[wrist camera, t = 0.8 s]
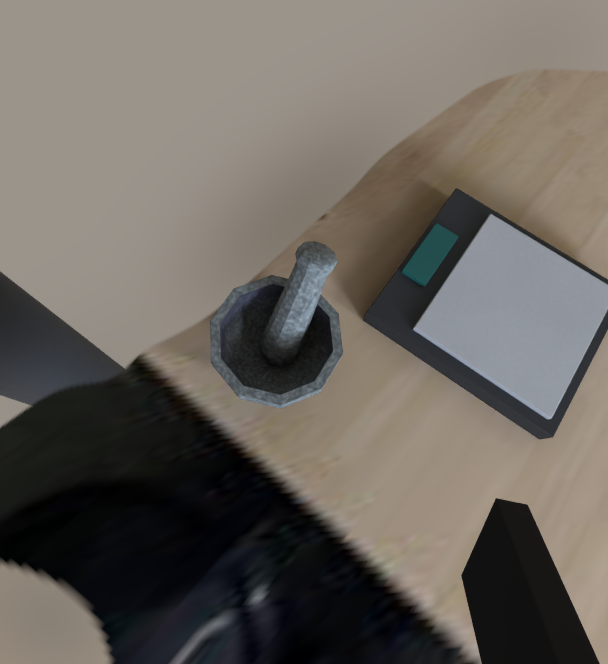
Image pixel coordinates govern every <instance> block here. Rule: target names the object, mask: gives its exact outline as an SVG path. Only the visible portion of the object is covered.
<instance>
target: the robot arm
mask: <svg viewBox="0 0 608 664" xmlns="http://www.w3.org/2000/svg"><path fill="white" fill-rule="evenodd" d="M461 576H462V580H463V584H464V589H465V593H466V597H467V602H468V606H469V610H470V615H471V619H472V623H473V627H474V632H475V636H476V640H477V645H478V649H479V653H480V658H481V662H482V664H599V661H598V659H597V657H596V655H595V652H594V650H593V648H592V646H591V644H590V641H589V639H588V637H587V635H586V633H585V630H584V628H583V626H582V624H581V622H580V619H579V617H578V615H577V613H576V611H575V608H574V606H573V604H572V602H571V600H570V597H569V595H568V593H567V591H566V589H565V586H564V584H563V582H562V580H561V578H560V575H559V573H558V571H557V569H556V567H555V564H554V562H553V560H552V558H551V556H550V553H549V551H548V549H547V547H546V545H545V542H544V540H543V538H542V536H541V533H540V531H539V529H538V527H537V525H536V522H535V520H534V518H533V516H532V514H531V511H530V509H529V507H528V505H526V504H521V503H516V502H511V501H506V500H502V499H497V498H496V500H495V502H494V504H493V506H492V508H491V511H490V513H489V515H488V517H487V520H486V522H485V524H484V526H483V528H482V531H481V533H480V535H479V537H478V540H477V542H476V544H475V546H474V548H473V551H472V553H471V555H470V557H469V560H468V562H467V564H466V566H465V568H464V571H463V573H462V575H461Z"/></svg>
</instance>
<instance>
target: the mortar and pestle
mask: <svg viewBox="0 0 608 664" xmlns="http://www.w3.org/2000/svg"><path fill="white" fill-rule="evenodd" d="M296 259H297V262H296V264H295V266H294V268H293V270H292V272H291V275H290V277H289V279H286V278H282V277H278V276H274V275H271V276H268V277H265V278H262V279H260V280H257V281H254V282H251V283H248V284H246V285H243V286H240V287H237V288H234V289H233V291H232V292H231V293H230V295H229V296H228V298H227V299H226V300H225V302H224V303H223V304H222V306H221V307H220V308H219V310H218V311H217V312H216V314H215V315H214V317H213V318H212V319H211V321H210V336H211V363H212V365H213V367H214V368H215V369H216V370H217V371H218V373H219V374H220V375H221V376H222V378H223V379H224V380H225V381H226V382H227V384H228V385H229V386H230V387H231V388H232V390H233V391H234V392H235V393H236V395H237V396H238V397H239V398H240V399H244V400H248V401H252V402H256V403H260V404H265V405H269V406H273V407H277V408H283V407H285V406H288V405H290V404H293V403H295V402H298V401H300V400H302V399H305V398H307V397H310V396H312V395H315V394H317V393H320V391H321V390H322V388H323V386H324V385H325V383H326V381H327V380H328V378H329V376H330V375H331V373H332V371H333V370H334V368H335V366H336V365H337V363H338V361H339V360H340V358H341V356H342V354H343V349H342V340H341V332H340V323H339V314H338V313H337V312H336V310H335V309H334V308H333V307H332V306H331V305H330V304H329V303H328V302H327V301H326V300H325V299H324V298H323V296H322V295H321V292H322V289H323V286H324V284H325V281H326V278H327V275H328V274H330V273H331V272H332V270H333V269H334V268H335V266H336V264H337V259H336V256H335V253H334V252H333V251H332V250H331V249H329V248H328V247H327V246H326V245H324V244H321V243H318V242H315V241H314V242H304V243H303V244H302V245H301V246H299V247H298V249H297V251H296Z"/></svg>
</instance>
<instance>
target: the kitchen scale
mask: <svg viewBox="0 0 608 664" xmlns="http://www.w3.org/2000/svg"><path fill="white" fill-rule="evenodd" d="M363 320H364V321H365V322H367V323H368V324H370V325H371V326H372V327H374V328H375V329H377V330H378V331H380V332H381V333H383V334H384V335H386V336H387V337H389V338H390V339H392V340H393V341H395V342H396V343H398V344H399V345H401V346H402V347H404V348H405V349H407V350H408V351H409V352H411V353H412V354H414V355H415V356H417V357H418V358H420V359H421V360H423V361H424V362H426V363H427V364H429V365H430V366H432V367H433V368H435V369H436V370H438V371H439V372H441V373H442V374H444V375H445V376H446V377H448V378H449V379H451V380H452V381H454V382H455V383H457V384H458V385H460V386H461V387H463V388H464V389H466V390H467V391H469V392H470V393H472V394H473V395H475V396H476V397H478V398H479V399H481V400H482V401H484V402H485V403H486V404H488V405H489V406H491V407H492V408H494V409H495V410H497V411H498V412H500V413H501V414H503V415H504V416H506V417H507V418H509V419H510V420H512V421H513V422H515V423H516V424H518V425H519V426H521V427H522V428H523V429H525V430H526V431H528V432H529V433H531V434H532V435H534V436H535V437H537V438H538V439H545V438H551V437H553V436H554V434H555V432H556V430H557V428H558V426H559V424H560V422H561V421H562V419H563V417H564V415H565V413H566V411H567V409H568V407H569V405H570V403H571V401H572V399H573V397H574V395H575V393H576V391H577V389H578V387H579V385H580V383H581V381H582V379H583V377H584V375H585V373H586V371H587V369H588V367H589V365H590V363H591V361H592V359H593V357H594V355H595V353H596V351H597V349H598V348H599V346H600V344H601V342H602V340H603V338H604V336H605V334H606V332H607V330H608V280H607V279H606V278H604V277H603V276H601V275H599V274H598V273H596V272H594V271H593V270H591V269H589V268H588V267H586V266H584V265H583V264H581V263H579V262H578V261H576V260H574V259H573V258H571V257H570V256H568V255H566V254H565V253H563V252H561V251H560V250H558V249H556V248H555V247H553V246H551V245H550V244H548V243H546V242H545V241H543V240H541V239H540V238H538V237H536V236H535V235H533V234H532V233H530V232H528V231H527V230H525V229H523V228H522V227H520V226H518V225H517V224H515V223H513V222H512V221H510V220H508V219H507V218H505V217H503V216H502V215H500V214H499V213H497V212H495V211H494V210H492V209H490V208H489V207H487V206H485V205H484V204H482V203H480V202H479V201H477V200H475V199H474V198H472V197H470V196H469V195H467V194H465V193H464V192H462V191H461V190H459V189H457V188H456V189H455V191H454V192H453V193H452V195H451V196H450V198H449V199H448V200H447V202H446V203H445V205H444V206H443V207H442V209H441V210H440V211H439V213H438V214H437V216H436V217H435V218H434V220H433V221H432V223H431V224H430V225H429V227H428V228H427V229H426V231H425V232H424V234H423V235H422V236H421V238H420V239H419V241H418V242H417V243H416V245H415V246H414V248H413V249H412V250H411V252H410V253H409V254H408V256H407V257H406V259H405V260H404V261H403V263H402V264H401V266H400V267H399V268H398V270H397V271H396V273H395V274H394V275H393V277H392V278H391V279H390V281H389V282H388V284H387V285H386V286H385V288H384V289H383V291H382V292H381V293H380V295H379V296H378V297H377V299H376V300H375V302H374V303H373V304H372V306H371V307H370V309H369V310H368V311H367V313H366V315H365V317H364V319H363Z"/></svg>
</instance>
